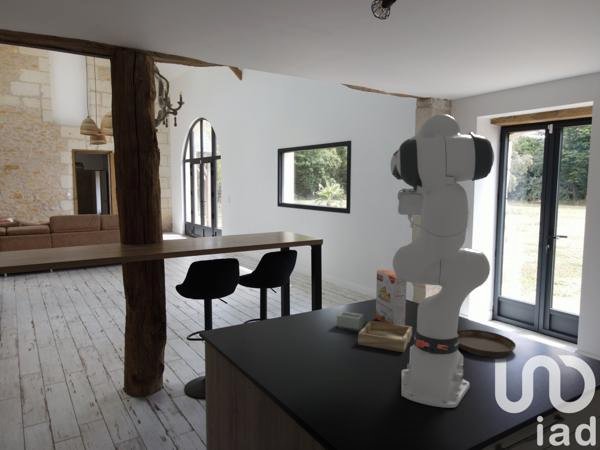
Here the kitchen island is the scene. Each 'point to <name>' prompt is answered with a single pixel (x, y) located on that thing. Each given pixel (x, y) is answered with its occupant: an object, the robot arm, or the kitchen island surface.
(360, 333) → the big crate
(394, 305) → the cracker box
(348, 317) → the box
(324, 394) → the kitchen island surface
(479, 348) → the plant saucer
